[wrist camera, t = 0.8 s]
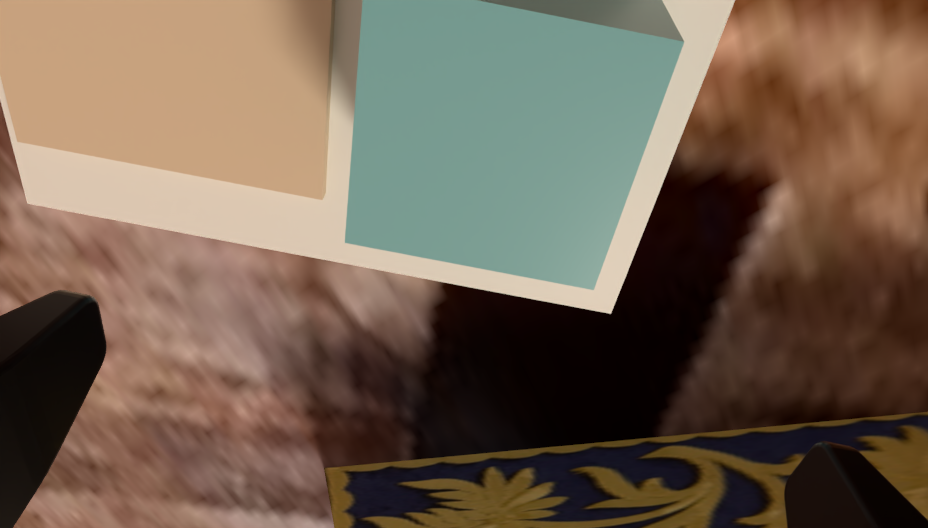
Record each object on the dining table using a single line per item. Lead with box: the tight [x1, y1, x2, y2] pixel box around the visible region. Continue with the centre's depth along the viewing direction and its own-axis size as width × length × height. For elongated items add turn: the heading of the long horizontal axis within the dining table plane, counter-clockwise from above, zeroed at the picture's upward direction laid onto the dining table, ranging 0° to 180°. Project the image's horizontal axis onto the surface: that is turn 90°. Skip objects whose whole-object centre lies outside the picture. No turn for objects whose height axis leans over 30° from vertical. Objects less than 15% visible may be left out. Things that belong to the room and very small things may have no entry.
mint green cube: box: [345, 0, 684, 290], centre depth 16 cm, size 6×6×4 cm
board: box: [0, 0, 735, 314], centre depth 17 cm, size 19×14×5 cm
